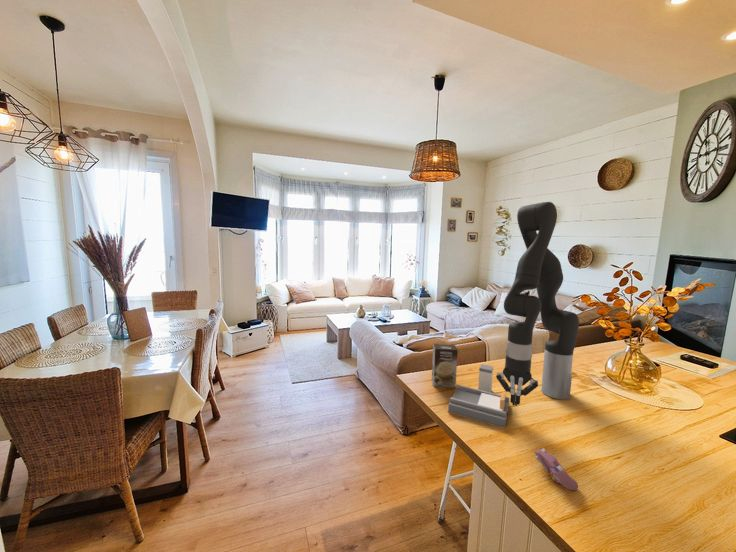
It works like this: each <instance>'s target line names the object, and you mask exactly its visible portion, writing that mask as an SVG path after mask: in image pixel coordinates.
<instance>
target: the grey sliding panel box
mask: <svg viewBox="0 0 736 552" xmlns="http://www.w3.org/2000/svg"><path fill="white" fill-rule="evenodd" d="M481 393H485V394H489V395H493V396H497V397H501V394H499V393H495V392H491V393H490V392H486V391H482V390H478V388H474V387H470V386H465V385H462V384H456V390H455V391H454V393H453V395H452V397H449V402H448V410H447V412H448V413H450V414H454V415H456V416H460V417H464V418H467V419H471V420H474V421H478V422H480V423H484V424H489V425H491V426H496V427H498V428H502V429H506V423H507V418H508V411H509V407H510V396H507V395H506V396H505V399H506V400H505V406H504V411H500V410H497V409H493V408H489V407H485V406H482V405H478V402H479V399H480V396H481Z"/></svg>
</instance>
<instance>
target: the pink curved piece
mask: <svg viewBox="0 0 736 552" xmlns="http://www.w3.org/2000/svg"><path fill="white" fill-rule="evenodd" d="M534 455H535V460H536V461H537V462H538V463H539V462H540V463H541V465H542V466H543V468H544V470H545V471H546V473H548V474H550V476H551V479H552V480H553V481H555V483H557V484H561V486H563V487H565V488H567V489H569V490H571V491H577V490H578V489H579V483H578V482H577V481H576V480H575V479H574V478H572V477H571V476H570V475H569V474H568V472H567V471H566V469H564V467H563V466H562V465H561V464H560V463H559V460H558V459H557V457H556V456H554V454H551V453H550V452H548V451H547V450H546V449H545V448H540V449H536V450H535V451H534Z"/></svg>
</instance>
